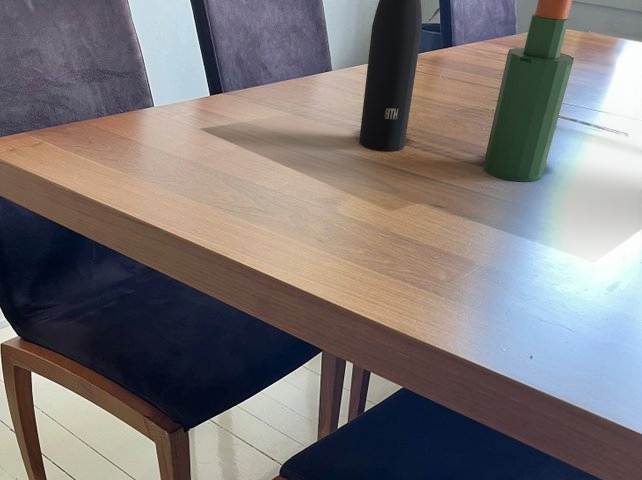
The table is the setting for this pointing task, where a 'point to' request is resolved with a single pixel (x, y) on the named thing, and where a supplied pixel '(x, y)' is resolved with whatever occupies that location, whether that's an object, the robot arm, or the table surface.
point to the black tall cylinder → (390, 74)
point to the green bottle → (529, 103)
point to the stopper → (553, 9)
